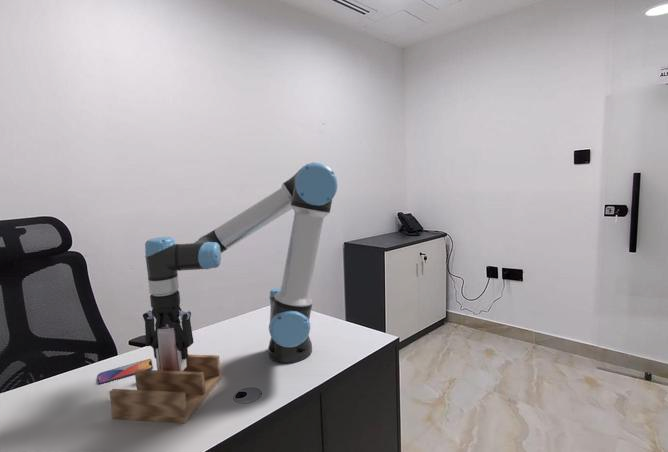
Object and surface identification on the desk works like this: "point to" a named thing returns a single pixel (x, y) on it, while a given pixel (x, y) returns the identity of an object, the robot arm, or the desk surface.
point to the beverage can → (167, 348)
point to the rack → (167, 392)
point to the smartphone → (124, 371)
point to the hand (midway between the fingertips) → (172, 368)
